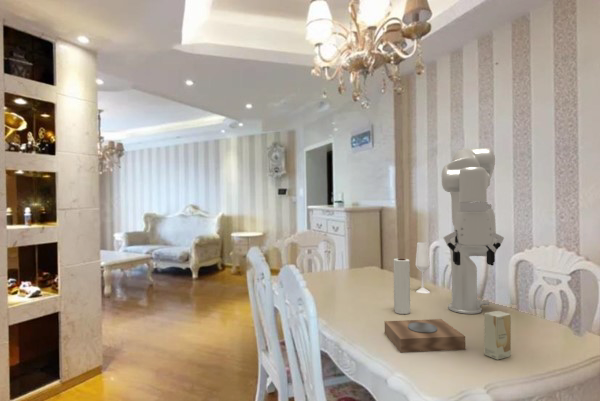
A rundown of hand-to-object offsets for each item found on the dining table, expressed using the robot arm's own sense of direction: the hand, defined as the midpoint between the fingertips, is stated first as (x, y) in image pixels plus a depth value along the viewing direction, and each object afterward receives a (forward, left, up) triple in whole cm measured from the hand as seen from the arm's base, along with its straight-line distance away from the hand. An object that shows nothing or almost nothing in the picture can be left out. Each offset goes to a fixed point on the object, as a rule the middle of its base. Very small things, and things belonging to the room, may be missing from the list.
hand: (473, 264), depth 112 cm
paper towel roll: (+9, -38, -26) cm, 47 cm away
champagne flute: (-12, -68, -26) cm, 74 cm away
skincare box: (-4, +5, -26) cm, 27 cm away
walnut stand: (+13, -8, -26) cm, 30 cm away
